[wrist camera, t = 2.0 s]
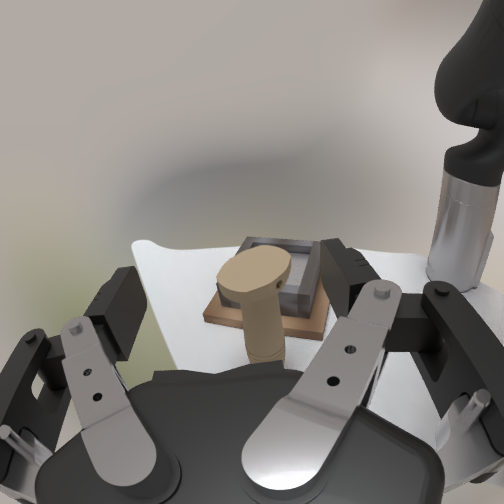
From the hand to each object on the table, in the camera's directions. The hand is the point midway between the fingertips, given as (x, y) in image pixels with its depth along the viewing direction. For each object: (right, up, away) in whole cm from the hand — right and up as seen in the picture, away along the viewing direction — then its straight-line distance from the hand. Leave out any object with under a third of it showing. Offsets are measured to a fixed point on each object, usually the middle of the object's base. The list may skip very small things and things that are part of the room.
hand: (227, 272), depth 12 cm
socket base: (+5, -5, +31) cm, 32 cm away
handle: (+3, -13, +19) cm, 23 cm away
